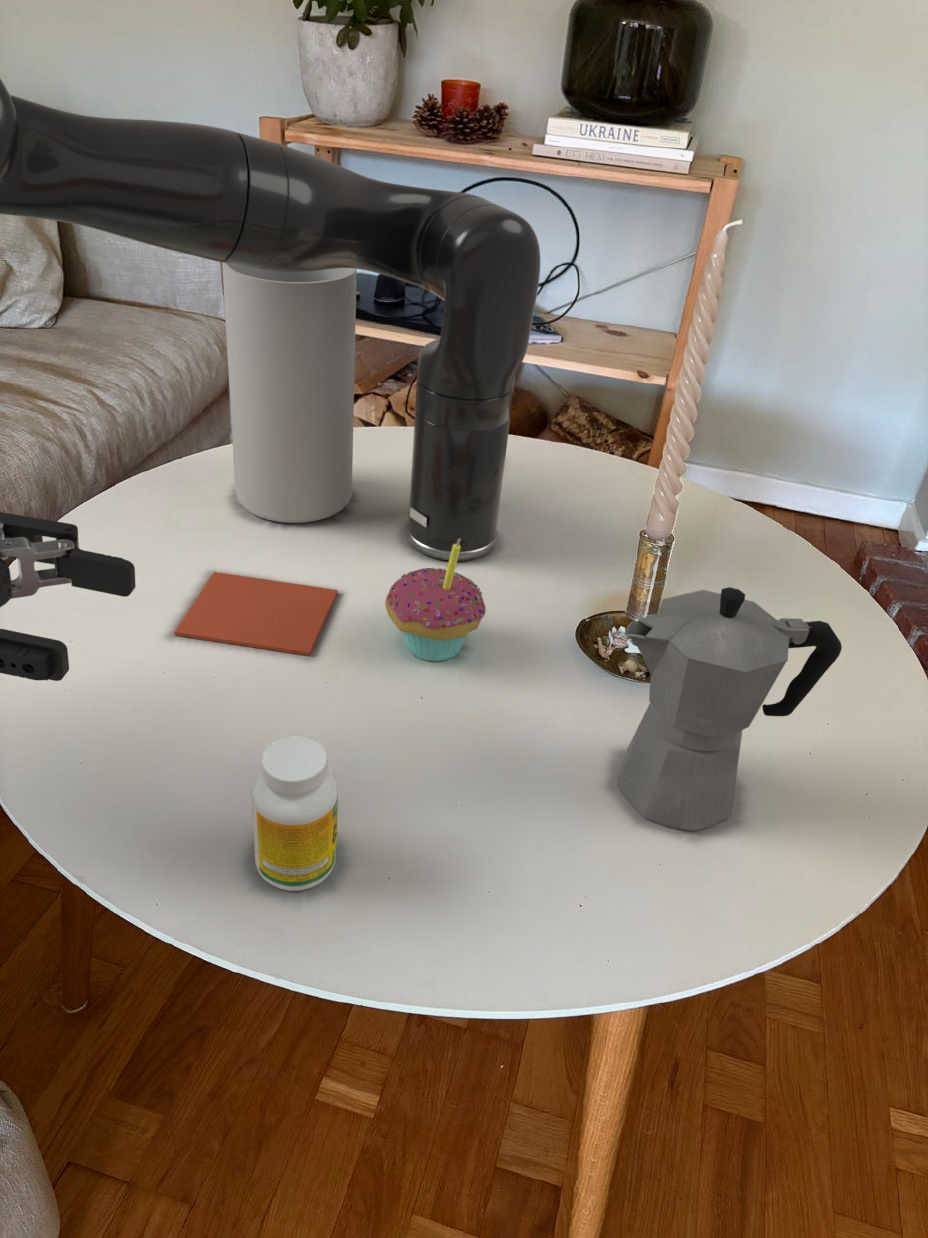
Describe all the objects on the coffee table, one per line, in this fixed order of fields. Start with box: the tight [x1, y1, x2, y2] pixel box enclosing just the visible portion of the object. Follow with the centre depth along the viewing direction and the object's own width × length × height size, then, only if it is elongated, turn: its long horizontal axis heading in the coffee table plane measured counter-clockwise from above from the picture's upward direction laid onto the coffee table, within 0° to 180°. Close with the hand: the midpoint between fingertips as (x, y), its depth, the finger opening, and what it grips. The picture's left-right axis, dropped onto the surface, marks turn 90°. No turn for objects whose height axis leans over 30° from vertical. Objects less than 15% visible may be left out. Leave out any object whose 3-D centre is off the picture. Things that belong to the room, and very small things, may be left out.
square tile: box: [174, 571, 338, 657], centre depth 87 cm, size 10×12×1 cm
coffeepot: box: [616, 586, 843, 832], centre depth 68 cm, size 15×9×18 cm, turn 95°
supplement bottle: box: [251, 735, 339, 892], centre depth 61 cm, size 5×5×10 cm
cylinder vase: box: [221, 262, 358, 524], centre depth 98 cm, size 12×12×25 cm
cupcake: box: [384, 538, 487, 662], centre depth 82 cm, size 9×8×12 cm
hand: (101, 618), depth 54 cm, fingers open, 8 cm apart
